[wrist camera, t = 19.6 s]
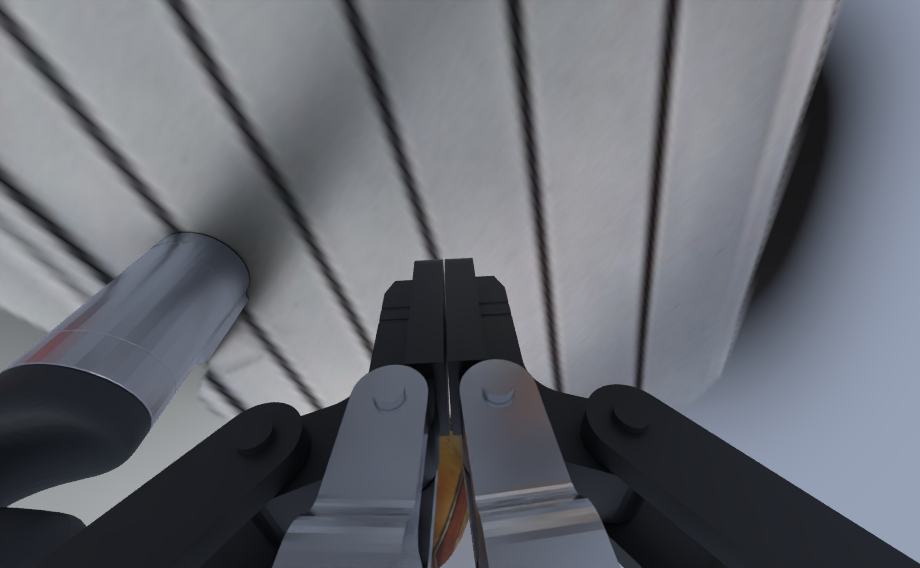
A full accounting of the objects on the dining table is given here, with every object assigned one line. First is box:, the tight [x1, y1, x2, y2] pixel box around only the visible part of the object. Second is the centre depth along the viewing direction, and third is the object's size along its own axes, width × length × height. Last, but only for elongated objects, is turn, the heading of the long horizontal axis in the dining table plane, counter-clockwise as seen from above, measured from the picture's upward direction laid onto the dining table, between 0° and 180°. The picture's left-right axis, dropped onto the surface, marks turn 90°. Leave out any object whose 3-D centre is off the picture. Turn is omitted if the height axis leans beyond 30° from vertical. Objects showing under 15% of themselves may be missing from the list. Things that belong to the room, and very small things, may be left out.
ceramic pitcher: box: [431, 430, 469, 568], centre depth 49 cm, size 20×20×30 cm
